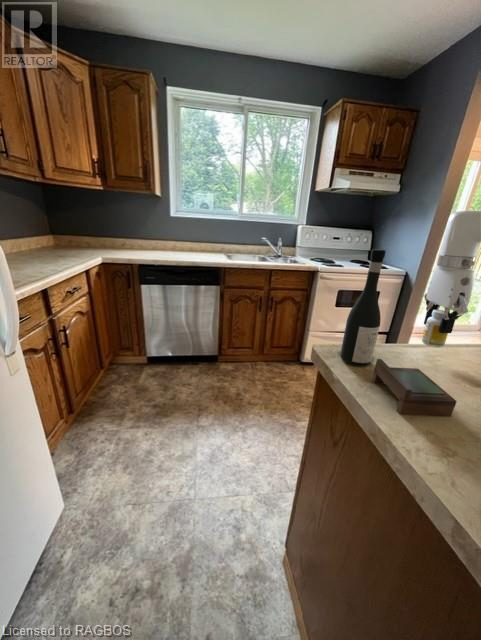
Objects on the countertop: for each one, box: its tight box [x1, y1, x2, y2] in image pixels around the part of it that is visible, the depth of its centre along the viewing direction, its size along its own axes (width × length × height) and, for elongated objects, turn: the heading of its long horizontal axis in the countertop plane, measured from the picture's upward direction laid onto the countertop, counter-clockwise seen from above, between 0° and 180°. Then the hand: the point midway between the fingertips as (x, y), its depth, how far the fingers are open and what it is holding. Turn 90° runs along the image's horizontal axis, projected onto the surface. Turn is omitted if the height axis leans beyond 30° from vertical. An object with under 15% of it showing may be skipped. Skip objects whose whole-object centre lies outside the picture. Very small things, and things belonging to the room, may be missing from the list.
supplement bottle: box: [421, 309, 449, 348], centre depth 75 cm, size 5×5×10 cm
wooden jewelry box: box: [370, 358, 458, 418], centre depth 57 cm, size 10×12×7 cm
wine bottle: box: [340, 248, 387, 367], centre depth 70 cm, size 8×8×30 cm
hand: (437, 327), depth 75 cm, fingers closed on supplement bottle, 5 cm apart
